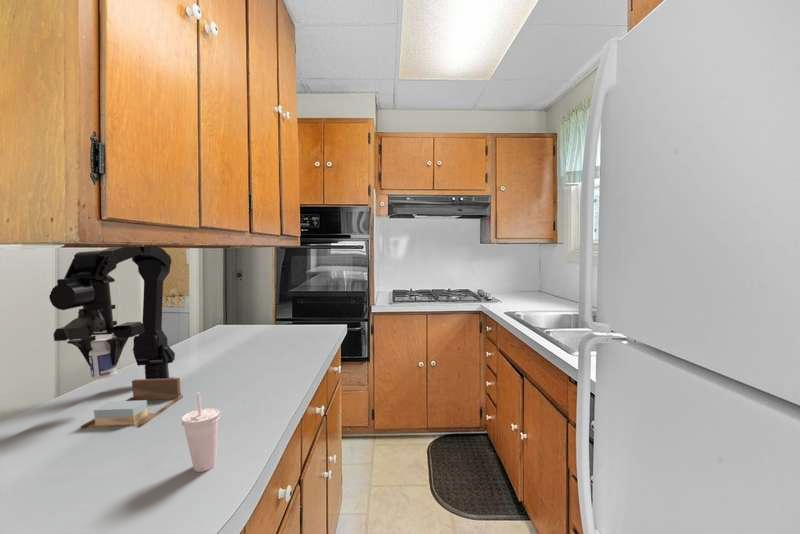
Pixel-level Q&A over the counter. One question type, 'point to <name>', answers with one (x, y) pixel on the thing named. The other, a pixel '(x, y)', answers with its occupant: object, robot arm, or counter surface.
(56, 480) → the counter surface
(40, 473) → the counter surface
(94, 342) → the pill bottle
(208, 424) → the smoothie
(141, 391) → the rack
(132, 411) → the offcut upper
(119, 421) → the offcut lower
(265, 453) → the counter surface
